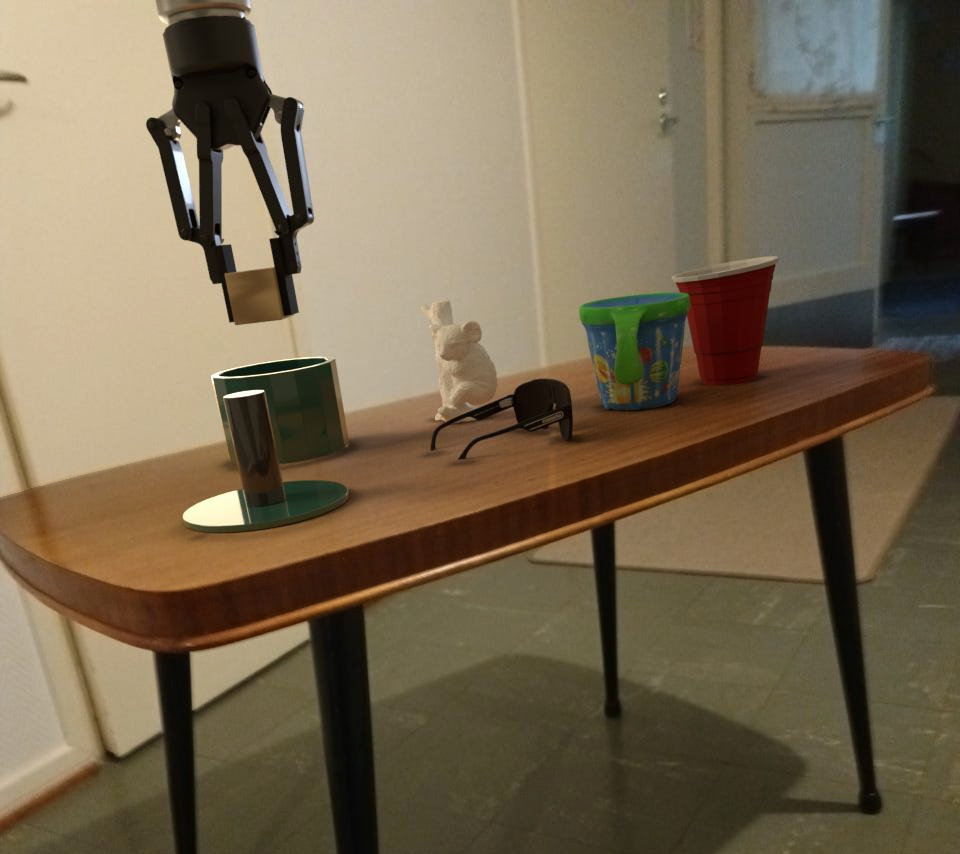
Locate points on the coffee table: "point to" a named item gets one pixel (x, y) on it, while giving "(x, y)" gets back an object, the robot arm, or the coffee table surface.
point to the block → (254, 296)
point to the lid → (260, 479)
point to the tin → (291, 405)
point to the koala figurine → (460, 363)
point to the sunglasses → (526, 410)
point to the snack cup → (636, 348)
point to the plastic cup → (728, 317)
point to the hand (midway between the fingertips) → (264, 316)
